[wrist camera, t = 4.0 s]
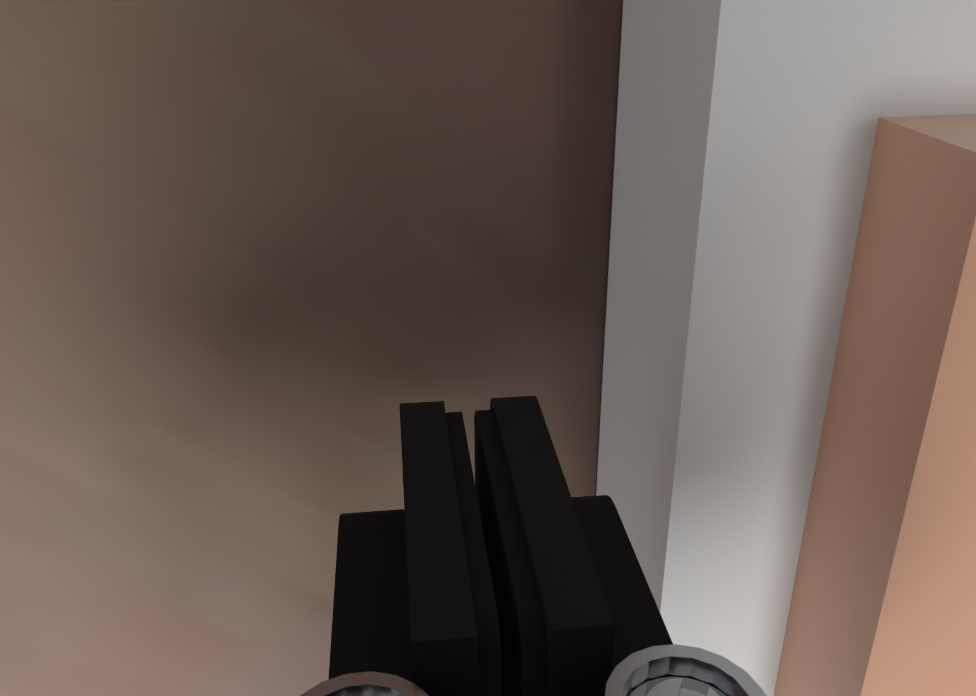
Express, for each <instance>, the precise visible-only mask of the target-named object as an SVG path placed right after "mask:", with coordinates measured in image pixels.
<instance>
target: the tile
mask: <svg viewBox="0 0 976 696" xmlns="http://www.w3.org/2000/svg"><path fill="white" fill-rule="evenodd" d="M774 696H976V114H971V115H939V116H907V117H879V119H878V125H877V130H876V136H875V141H874V147H873V152H872V158H871V163H870V169H869V174H868V180H867V185H866V191H865V196H864V202H863V207H862V213H861V218H860V224H859V229H858V235H857V240H856V246H855V251H854V257H853V262H852V268H851V273H850V279H849V284H848V290H847V295H846V301H845V306H844V312H843V317H842V323H841V328H840V334H839V339H838V345H837V350H836V356H835V361H834V367H833V372H832V378H831V383H830V389H829V394H828V400H827V405H826V411H825V416H824V422H823V427H822V433H821V438H820V444H819V449H818V455H817V460H816V466H815V471H814V477H813V482H812V488H811V493H810V499H809V504H808V510H807V515H806V521H805V526H804V532H803V537H802V543H801V548H800V554H799V559H798V565H797V570H796V576H795V581H794V587H793V592H792V598H791V603H790V609H789V614H788V620H787V625H786V631H785V636H784V642H783V647H782V653H781V658H780V664H779V669H778V675H777V680H776V686H775V691H774Z"/></svg>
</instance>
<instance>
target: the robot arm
mask: <svg viewBox="0 0 976 696" xmlns="http://www.w3.org/2000/svg"><path fill="white" fill-rule="evenodd" d="M400 422H401V443H402V463H403V484H404V505H405V509H402V510H388V511H374V512H360V513H346V514H341V515H340V518H339V528H338V543H337V559H336V574H335V590H334V605H333V620H332V636H331V651H330V667H329V680H326V681H323V682H321V683H320V684H318V685H316V686H315V687H313V688H312V689H310V690H308V691H307V692H305V693H304V694H302V695H300V696H767V695H766V694H765V692H764V691H763V689H762V688H761V687H760V686H759V685H758V684H757V683H756V682H755V681H754V680H753V678H752V677H751V676H750V675H749V674H748V673H747V672H746V671H745V670H743V669H742V668H740V667H739V666H737V665H736V664H734V663H733V662H731V661H730V660H728V659H727V658H725V657H723V656H721V655H718V654H715V653H713V652H710V651H707V650H705V649H702V648H698V647H691V646H684V645H677V644H673V643H672V640H671V638H670V636H669V633H668V631H667V628H666V626H665V624H664V621H663V619H662V616H661V614H660V612H659V609H658V607H657V604H656V602H655V600H654V597H653V595H652V592H651V590H650V588H649V585H648V583H647V580H646V578H645V576H644V573H643V571H642V569H641V566H640V564H639V561H638V559H637V557H636V554H635V552H634V549H633V547H632V545H631V542H630V540H629V537H628V535H627V533H626V530H625V528H624V525H623V523H622V521H621V518H620V516H619V513H618V511H617V509H616V506H615V504H614V502H613V501H612V499H611V497H609V496H608V495H599V496H585V497H571V495H570V492H569V489H568V487H567V484H566V481H565V478H564V475H563V472H562V469H561V466H560V463H559V461H558V458H557V455H556V452H555V449H554V446H553V443H552V440H551V437H550V435H549V432H548V429H547V426H546V423H545V420H544V417H543V414H542V411H541V408H540V406H539V403H538V400H537V398H536V396H524V397H507V398H492V399H491V403H490V410H482V411H475V416H474V435H475V483H474V478H473V472H472V466H471V461H470V455H469V449H468V444H467V438H466V433H465V427H464V421H463V416H462V412H448V413H445V407H444V401H438V402H421V403H404V404H400Z"/></svg>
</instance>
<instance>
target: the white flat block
mask: <svg viewBox="0 0 976 696" xmlns="http://www.w3.org/2000/svg"><path fill="white" fill-rule="evenodd" d="M971 114H976V0H623V14H622V32H621V51H620V69H619V87H618V106H617V124H616V142H615V160H614V179H613V197H612V215H611V234H610V252H609V270H608V288H607V307H606V325H605V343H604V362H603V380H602V398H601V416H600V435H599V453H598V471H597V489H596V496H599V495H608V496H609V497H611V499H612V501H613V502H614V504H615V506H616V509H617V511H618V513H619V516H620V518H621V521H622V523H623V525H624V528H625V530H626V533H627V535H628V537H629V540H630V542H631V545H632V547H633V549H634V552H635V554H636V557H637V559H638V561H639V564H640V566H641V569H642V571H643V573H644V576H645V578H646V580H647V583H648V585H649V588H650V590H651V592H652V595H653V597H654V600H655V602H656V604H657V607H658V609H659V612H660V614H661V616H662V619H663V621H664V624H665V626H666V628H667V631H668V633H669V636H670V638H671V640H672V643H673V644H677V645H684V646H691V647H698V648H702V649H705V650H707V651H710V652H713V653H715V654H718V655H721V656H723V657H725V658H727V659H728V660H730V661H731V662H733V663H734V664H736V665H737V666H739V667H740V668H742V669H743V670H745V671H746V672H747V673H748V674H749V675H750V676H751V677H752V678H753V680H754V681H755V682H756V683H757V684H758V685H759V686H760V687H761V688H762V689H763V691H764V692H765V694H766V695H767V696H774V691H775V686H776V680H777V675H778V669H779V664H780V658H781V653H782V647H783V642H784V636H785V631H786V625H787V620H788V614H789V609H790V603H791V598H792V592H793V587H794V581H795V576H796V570H797V565H798V559H799V554H800V548H801V543H802V537H803V532H804V526H805V521H806V515H807V510H808V504H809V499H810V493H811V488H812V482H813V477H814V471H815V466H816V460H817V455H818V449H819V444H820V438H821V433H822V427H823V422H824V416H825V411H826V405H827V400H828V394H829V389H830V383H831V378H832V372H833V367H834V361H835V356H836V350H837V345H838V339H839V334H840V328H841V323H842V317H843V312H844V306H845V301H846V295H847V290H848V284H849V279H850V273H851V268H852V262H853V257H854V251H855V246H856V240H857V235H858V229H859V224H860V218H861V213H862V207H863V202H864V196H865V191H866V185H867V180H868V174H869V169H870V163H871V158H872V152H873V147H874V141H875V136H876V130H877V125H878V119H879V117H907V116H939V115H971Z"/></svg>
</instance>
